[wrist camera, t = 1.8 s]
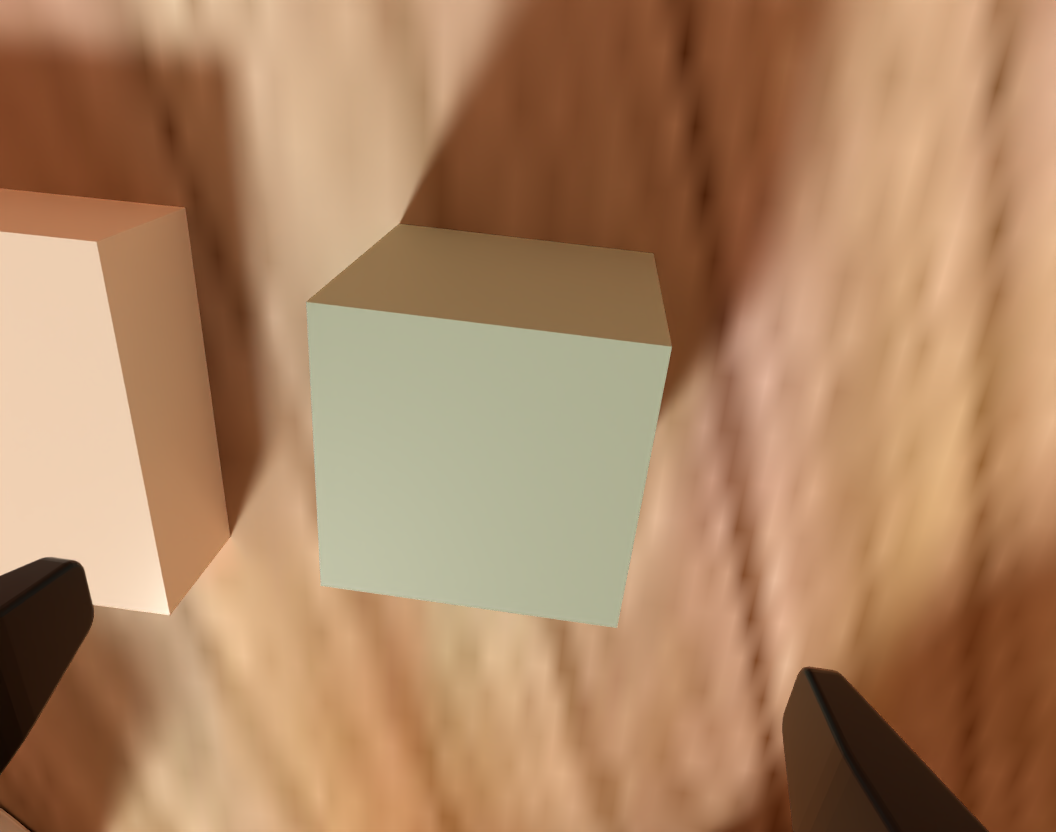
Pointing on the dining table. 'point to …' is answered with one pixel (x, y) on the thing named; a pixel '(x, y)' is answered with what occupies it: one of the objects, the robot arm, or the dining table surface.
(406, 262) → the sage cube
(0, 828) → the small box
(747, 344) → the dining table surface
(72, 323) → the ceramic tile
